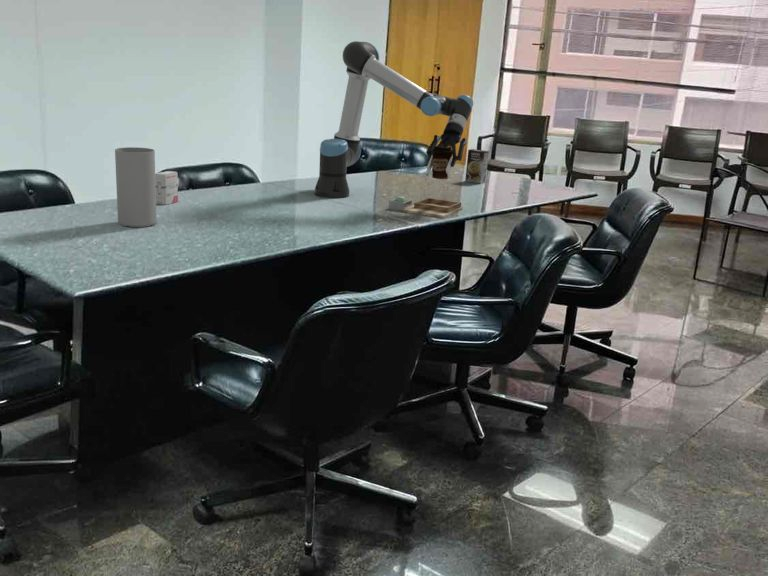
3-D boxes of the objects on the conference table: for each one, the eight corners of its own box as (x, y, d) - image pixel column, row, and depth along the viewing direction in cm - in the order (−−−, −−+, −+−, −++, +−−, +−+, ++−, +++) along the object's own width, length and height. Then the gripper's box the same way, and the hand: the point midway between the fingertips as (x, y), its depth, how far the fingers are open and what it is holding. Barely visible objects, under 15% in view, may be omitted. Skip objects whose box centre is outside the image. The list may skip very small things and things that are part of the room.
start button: (394, 205, 313) (394, 197, 312) (397, 204, 316) (398, 196, 315) (402, 207, 311) (403, 198, 310) (405, 205, 314) (406, 197, 313)
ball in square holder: (388, 209, 312) (389, 200, 311) (395, 206, 318) (396, 198, 317) (404, 211, 309) (404, 202, 308) (411, 208, 316) (411, 200, 314)
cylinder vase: (138, 218, 270) (136, 146, 263) (164, 223, 264) (162, 150, 257) (110, 223, 260) (106, 149, 252) (136, 229, 254) (133, 153, 247)
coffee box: (464, 181, 392) (467, 149, 387) (470, 180, 397) (473, 148, 393) (480, 183, 388) (484, 151, 383) (486, 182, 393) (489, 150, 388)
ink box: (168, 200, 303) (167, 170, 299) (178, 201, 301) (178, 171, 298) (154, 203, 295) (153, 173, 291) (165, 205, 293) (164, 174, 290)
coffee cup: (448, 181, 308) (452, 148, 304) (428, 179, 310) (431, 146, 306) (451, 178, 316) (454, 146, 312) (431, 175, 318) (434, 144, 314)
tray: (401, 211, 308) (402, 204, 307) (422, 203, 328) (423, 196, 327) (443, 218, 301) (444, 210, 300) (462, 209, 321) (463, 202, 320)
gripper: (430, 119, 319) (412, 162, 310) (476, 123, 311) (459, 168, 302) (433, 131, 325) (416, 173, 316) (479, 136, 317) (463, 179, 308)
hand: (437, 170), depth 309 cm, fingers closed on coffee cup, 7 cm apart
